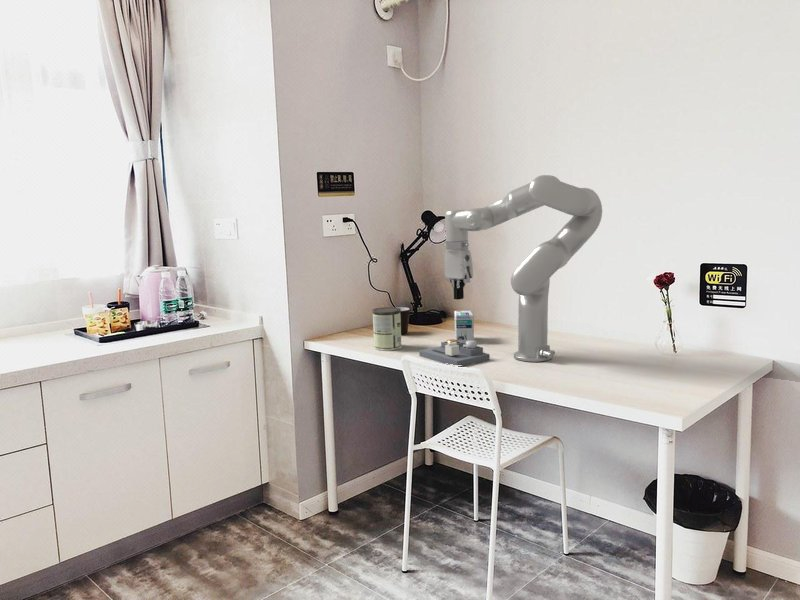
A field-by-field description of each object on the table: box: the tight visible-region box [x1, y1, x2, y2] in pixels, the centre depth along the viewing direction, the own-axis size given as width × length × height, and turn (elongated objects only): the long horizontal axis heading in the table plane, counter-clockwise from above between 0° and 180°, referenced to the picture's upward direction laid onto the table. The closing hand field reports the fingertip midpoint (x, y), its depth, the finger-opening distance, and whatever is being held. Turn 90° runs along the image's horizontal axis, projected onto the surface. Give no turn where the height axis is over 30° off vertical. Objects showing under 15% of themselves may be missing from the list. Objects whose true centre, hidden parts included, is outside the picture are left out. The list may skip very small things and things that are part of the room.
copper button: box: [446, 338, 457, 343], centre depth 232 cm, size 4×4×3 cm
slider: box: [445, 342, 459, 356], centre depth 221 cm, size 3×3×4 cm
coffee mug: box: [395, 306, 411, 336], centre depth 266 cm, size 12×9×10 cm
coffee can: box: [371, 306, 403, 352], centre depth 244 cm, size 10×10×14 cm
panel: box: [418, 340, 490, 367], centre depth 226 cm, size 20×14×4 cm
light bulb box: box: [453, 310, 475, 345], centre depth 252 cm, size 11×7×11 cm, turn 179°
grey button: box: [465, 339, 478, 349], centre depth 224 cm, size 4×4×3 cm
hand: (458, 298), depth 233 cm, fingers closed
